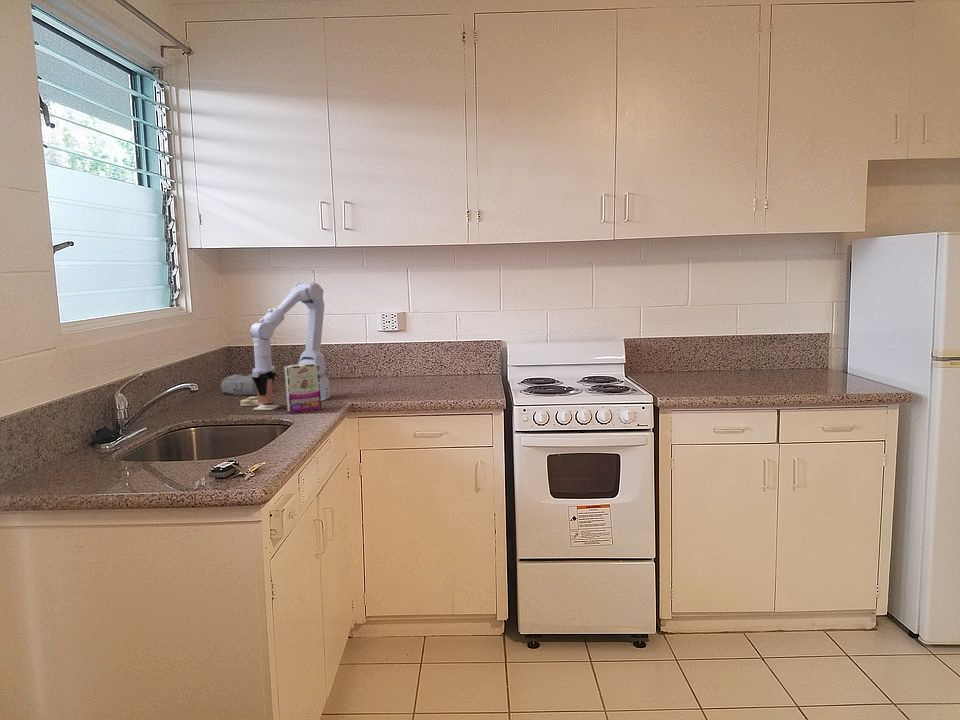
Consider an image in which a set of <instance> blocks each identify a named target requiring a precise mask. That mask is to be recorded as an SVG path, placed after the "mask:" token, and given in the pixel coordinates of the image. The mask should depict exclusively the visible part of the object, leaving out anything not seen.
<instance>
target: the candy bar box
mask: <svg viewBox="0 0 960 720" xmlns="http://www.w3.org/2000/svg"><path fill="white" fill-rule="evenodd" d="M283 366H284V382H285V392H286V393H285V394H286V406H287V412H288V411H289V412H290V413H289V412H288V413H289V414H294V413H293V412H299V413H303V412H302V411H307V412H312V411H311V410H315V411H321V410H322V401H321V394H320V380H319V366H318V364H317V363H309V364H298V363H297V364H291V365H290V364H289V365H283Z"/></svg>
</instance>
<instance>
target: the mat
mask: <svg viewBox="0 0 960 720" xmlns="http://www.w3.org/2000/svg"><path fill="white" fill-rule="evenodd" d="M277 407H278V408H280V405H279V404H278V405H272V404H271V405H270V404H268V405H261V406H258V407H253V409H252V411H253V410H272V411H274V410H276V409H278V408H277ZM275 408H276V409H275ZM273 409H274V410H273Z"/></svg>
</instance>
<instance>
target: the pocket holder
mask: <svg viewBox="0 0 960 720" xmlns="http://www.w3.org/2000/svg"><path fill="white" fill-rule="evenodd" d="M239 401H240V403H239V404H240V405H239V406H240V407H241V406H261V405H267V404H268V405H270V404H272V403H271V402H269V403H270V404H269V403H258V396H249V397H246V398H244V399H241V400H239Z"/></svg>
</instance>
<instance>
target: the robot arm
mask: <svg viewBox="0 0 960 720" xmlns="http://www.w3.org/2000/svg"><path fill="white" fill-rule="evenodd" d="M299 302H301V303H302V304H304V305H305V306H306V307H307V309H308V316H307V317H308V320H307V329H306V337H305V339H306V341H305V349H304V350H303V352H301V354H300V358H299V361H298V363H297V365H298V364H309V363H317V364H318V366H319V380H320V394H321V402H322V401H326V400H327V399H329V398H331V395H330V393H331V392H330V380H329V377H328V376H326V375H325V376H324V373H325V371H326V369H327V368H326V367H327V365H326V363H325V356H324V354H323V353H322V352H321V345H322V334H323V326H324V325H323V324H324V315H325V313H324V312H325V302H324V289H323V288H322V286H321V285H320V284H319V283H317V282H311V283H310V282H305V283H302V282H297V283H296V284H294V286H293V287H292V288H291V289H290V292H289V294H288V295H287V296H286V297H285V298H284V299H283V300H282V302H281V303H280V304H279V305H278V306H277V307H272V308H269V309H268V310H267V312H266V314H265V315H264V316H263V317H262V318H261V317H260V318H259V321H258V322H255V323H253V324H252V325H251V327H250V330H249V331H248V333H249V336H250V337H251V339H252V343H253V352H254V354H253V355H254V368H252V369H251V370H252V372H251V374H252V379H253V381H254V382H255V384H256V386H257V389H258V393H259V395H260V396H265V395H266V386H267V381H268V379H272V386H273V384H274V380H275V379H276V376H277V373H276V366H275V365H273V363H272V362H273V361H272V346H271V344H272V343H271V338H272V337H273V336H274V333H275V332H274V331H275V329H277V327H278V326H279V325H280V324H281V323H282V322H283V321H285V315H286V313H287V312H289V311H290V310H291V309H292V308H293V307H294V306H295V305H296V304H298V303H299Z"/></svg>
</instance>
